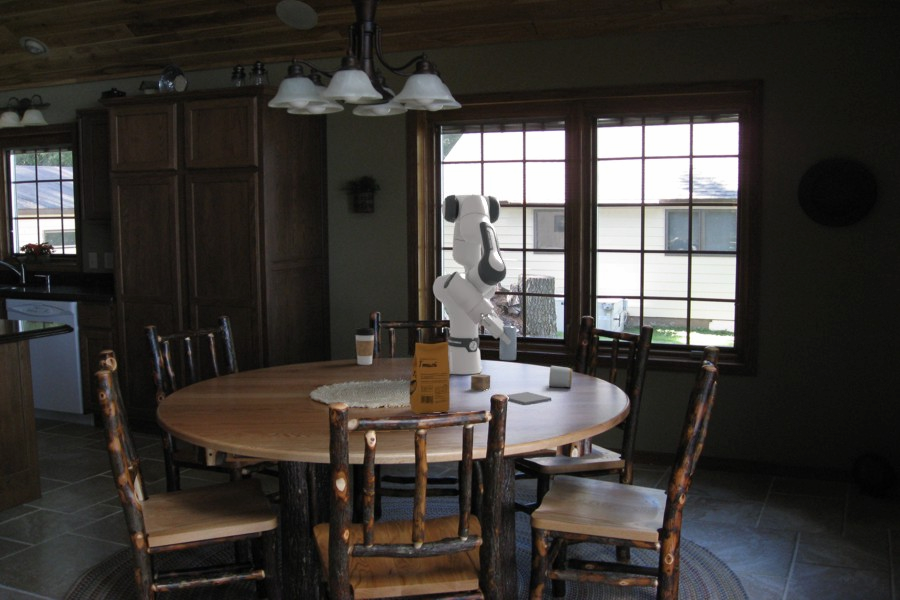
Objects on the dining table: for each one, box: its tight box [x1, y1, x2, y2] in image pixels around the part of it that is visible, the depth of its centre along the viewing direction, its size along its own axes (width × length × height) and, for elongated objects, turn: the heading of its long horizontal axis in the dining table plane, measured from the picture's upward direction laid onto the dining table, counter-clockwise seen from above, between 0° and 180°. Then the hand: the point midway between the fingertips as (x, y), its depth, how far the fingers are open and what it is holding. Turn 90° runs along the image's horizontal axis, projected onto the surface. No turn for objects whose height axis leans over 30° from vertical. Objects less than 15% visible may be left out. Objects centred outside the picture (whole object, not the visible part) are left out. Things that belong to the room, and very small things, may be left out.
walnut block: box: [470, 373, 491, 392], centre depth 303 cm, size 5×5×5 cm
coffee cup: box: [354, 327, 376, 366], centre depth 352 cm, size 8×8×15 cm
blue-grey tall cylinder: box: [499, 325, 518, 361], centre depth 286 cm, size 6×6×11 cm
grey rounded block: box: [548, 365, 574, 388], centre depth 310 cm, size 11×8×8 cm
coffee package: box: [408, 341, 451, 415], centre depth 268 cm, size 10×12×22 cm
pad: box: [506, 391, 552, 405], centre depth 287 cm, size 12×12×1 cm
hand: (510, 341), depth 286 cm, fingers closed on blue-grey tall cylinder, 6 cm apart
